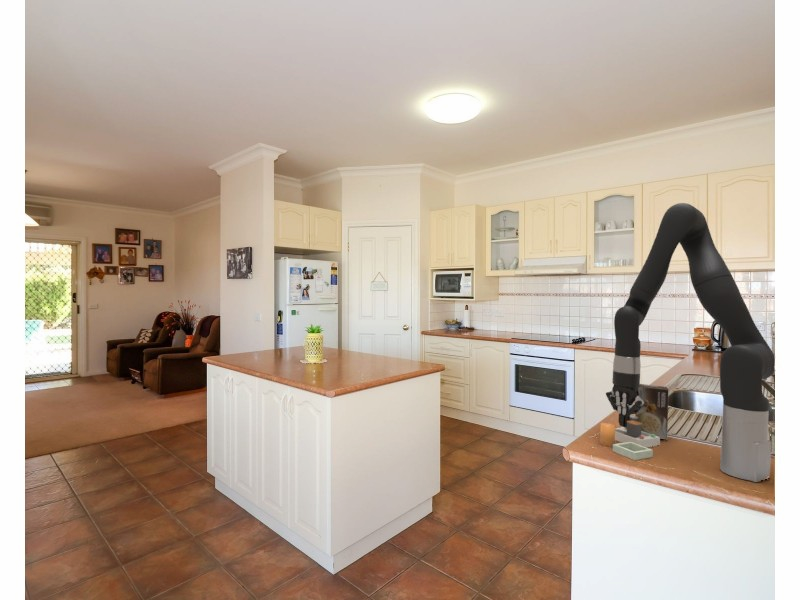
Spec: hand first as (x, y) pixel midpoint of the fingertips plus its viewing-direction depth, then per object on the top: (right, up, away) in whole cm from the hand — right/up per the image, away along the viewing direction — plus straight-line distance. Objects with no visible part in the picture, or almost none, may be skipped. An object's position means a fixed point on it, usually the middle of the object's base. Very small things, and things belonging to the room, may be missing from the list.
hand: (623, 426), depth 138 cm
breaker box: (+3, -5, 0) cm, 5 cm away
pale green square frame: (-4, -5, -12) cm, 13 cm away
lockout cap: (-7, -4, -4) cm, 9 cm away
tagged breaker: (+1, -2, -3) cm, 4 cm away
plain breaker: (+4, -2, +3) cm, 5 cm away
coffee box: (+12, -5, +6) cm, 14 cm away
